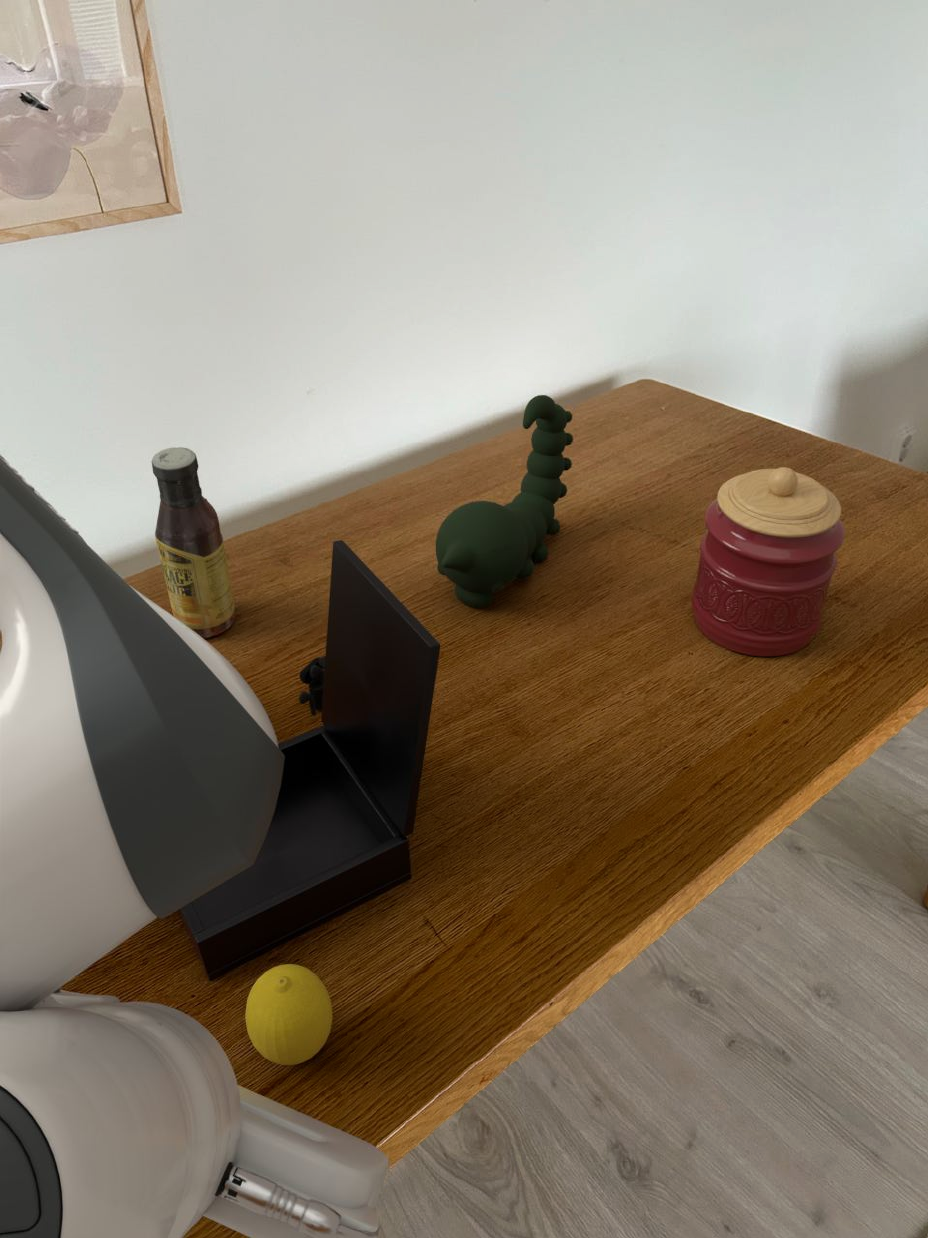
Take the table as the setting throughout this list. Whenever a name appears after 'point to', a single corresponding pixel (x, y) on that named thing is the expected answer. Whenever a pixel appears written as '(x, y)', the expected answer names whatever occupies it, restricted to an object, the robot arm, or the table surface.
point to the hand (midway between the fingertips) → (196, 1092)
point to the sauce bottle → (191, 546)
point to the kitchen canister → (767, 562)
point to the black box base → (302, 860)
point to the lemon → (288, 1014)
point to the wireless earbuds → (313, 684)
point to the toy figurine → (509, 516)
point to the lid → (378, 684)
